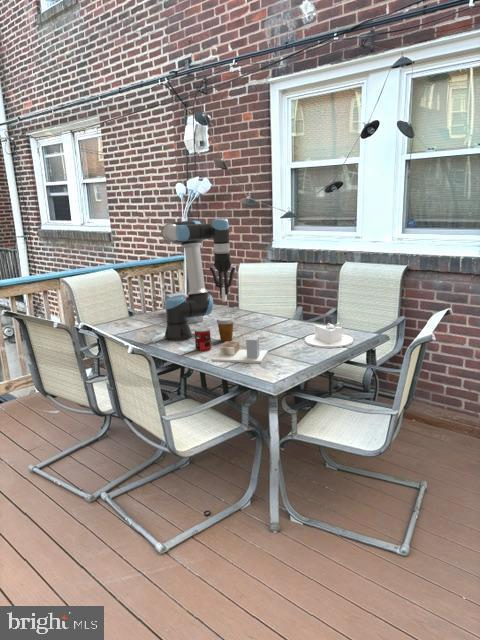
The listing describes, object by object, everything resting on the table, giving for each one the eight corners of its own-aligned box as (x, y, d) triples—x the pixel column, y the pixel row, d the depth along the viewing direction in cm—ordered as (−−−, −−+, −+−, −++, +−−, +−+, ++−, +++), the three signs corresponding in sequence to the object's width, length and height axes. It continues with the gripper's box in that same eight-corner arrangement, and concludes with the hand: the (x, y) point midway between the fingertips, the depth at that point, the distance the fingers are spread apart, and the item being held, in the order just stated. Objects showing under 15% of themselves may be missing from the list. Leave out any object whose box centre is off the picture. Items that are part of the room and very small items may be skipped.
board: (211, 360, 220) (211, 358, 220) (221, 350, 235) (221, 348, 235) (261, 363, 214) (260, 361, 214) (267, 352, 229) (267, 350, 229)
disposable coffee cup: (237, 337, 256) (236, 316, 254) (231, 342, 248) (230, 321, 245) (221, 337, 260) (220, 316, 257) (215, 341, 251) (213, 320, 248)
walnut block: (219, 347, 224) (225, 341, 233) (220, 355, 225) (226, 348, 234) (233, 347, 222) (239, 341, 231) (234, 355, 223) (239, 349, 232)
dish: (362, 340, 243) (362, 319, 240) (334, 351, 226) (334, 329, 224) (323, 332, 260) (323, 313, 258) (295, 343, 244) (295, 322, 241)
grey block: (247, 358, 219) (246, 339, 217) (249, 354, 224) (248, 336, 221) (257, 358, 218) (256, 340, 215) (259, 355, 222) (258, 337, 220)
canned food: (195, 347, 242) (194, 327, 239) (211, 346, 243) (209, 326, 240) (195, 352, 235) (194, 331, 232) (211, 351, 235) (210, 330, 233)
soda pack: (166, 313, 326) (164, 294, 322) (183, 310, 331) (182, 291, 328) (184, 325, 290) (183, 303, 287) (203, 322, 295) (202, 301, 292)
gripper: (206, 253, 217) (209, 302, 223) (233, 253, 214) (235, 302, 220) (211, 251, 224) (214, 299, 230) (237, 251, 221) (239, 299, 227)
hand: (224, 301), depth 225 cm, fingers closed
